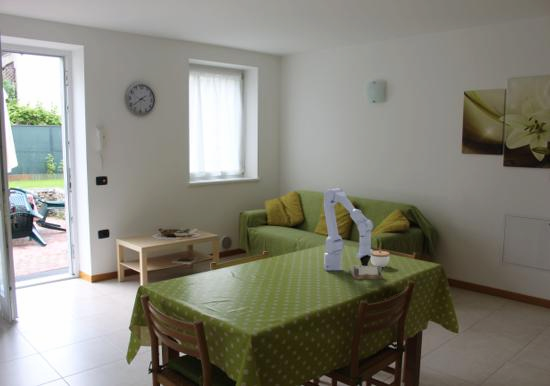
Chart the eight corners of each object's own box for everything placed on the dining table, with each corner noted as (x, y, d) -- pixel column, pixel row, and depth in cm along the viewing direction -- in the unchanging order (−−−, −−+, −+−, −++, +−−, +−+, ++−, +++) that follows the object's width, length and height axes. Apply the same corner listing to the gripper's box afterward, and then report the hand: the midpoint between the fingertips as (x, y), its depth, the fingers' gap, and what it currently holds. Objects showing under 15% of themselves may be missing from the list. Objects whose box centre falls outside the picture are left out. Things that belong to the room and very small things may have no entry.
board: (353, 279, 249) (354, 269, 248) (348, 271, 264) (349, 262, 263) (383, 279, 249) (383, 269, 249) (376, 271, 264) (376, 262, 263)
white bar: (380, 273, 254) (381, 265, 253) (381, 274, 252) (381, 266, 251) (353, 273, 254) (353, 264, 253) (353, 274, 252) (353, 265, 252)
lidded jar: (388, 264, 279) (388, 248, 278) (390, 269, 268) (391, 252, 267) (368, 263, 280) (369, 247, 279) (370, 268, 269) (371, 251, 268)
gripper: (365, 247, 245) (364, 273, 246) (378, 242, 256) (377, 267, 258) (352, 245, 249) (352, 271, 251) (366, 240, 261) (365, 265, 262)
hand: (364, 269), depth 255 cm, fingers closed, pressing on white bar
